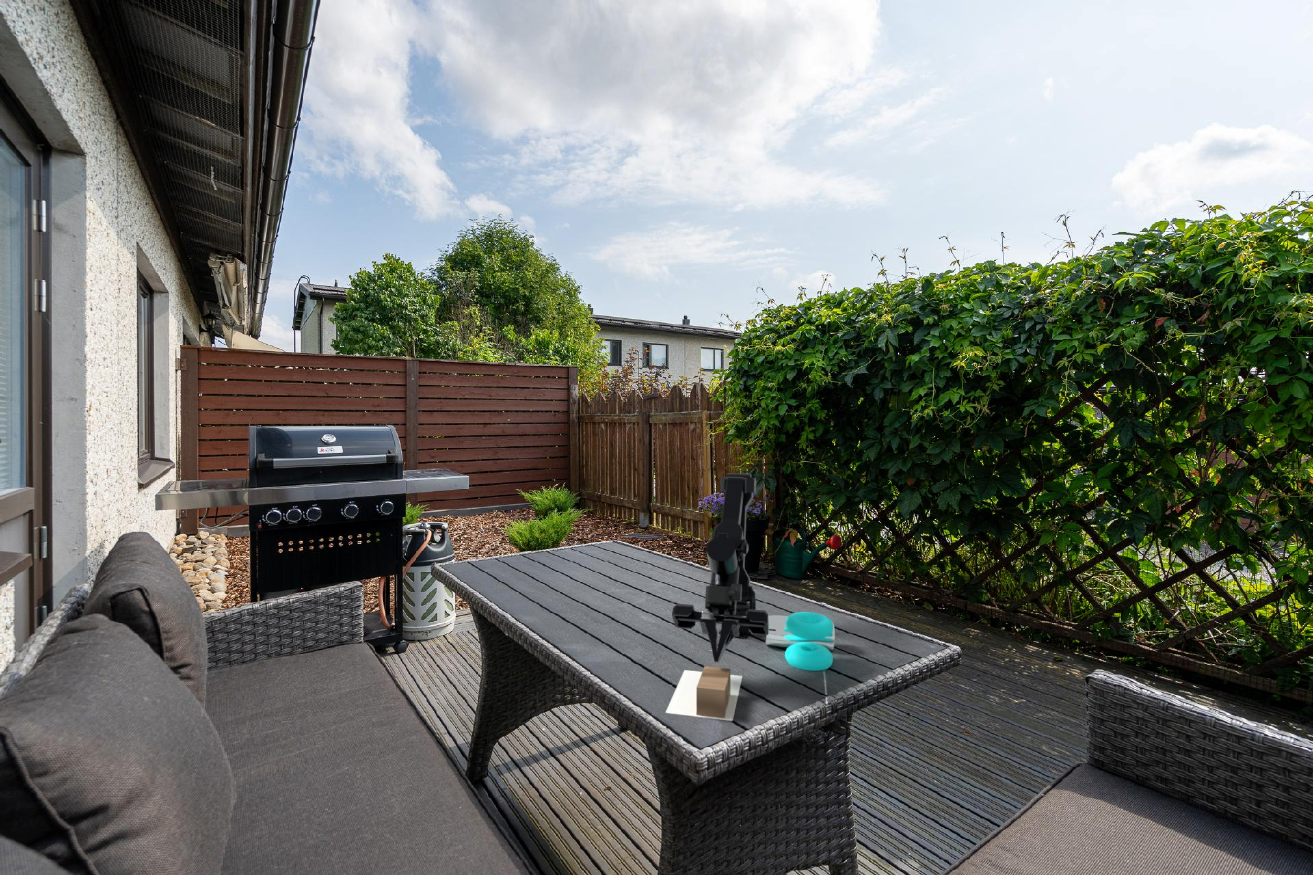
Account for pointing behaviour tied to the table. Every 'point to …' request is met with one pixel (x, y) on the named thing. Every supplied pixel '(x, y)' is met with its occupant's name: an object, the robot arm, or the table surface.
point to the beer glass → (785, 638)
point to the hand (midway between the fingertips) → (716, 661)
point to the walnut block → (713, 692)
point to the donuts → (807, 652)
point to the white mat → (686, 696)
